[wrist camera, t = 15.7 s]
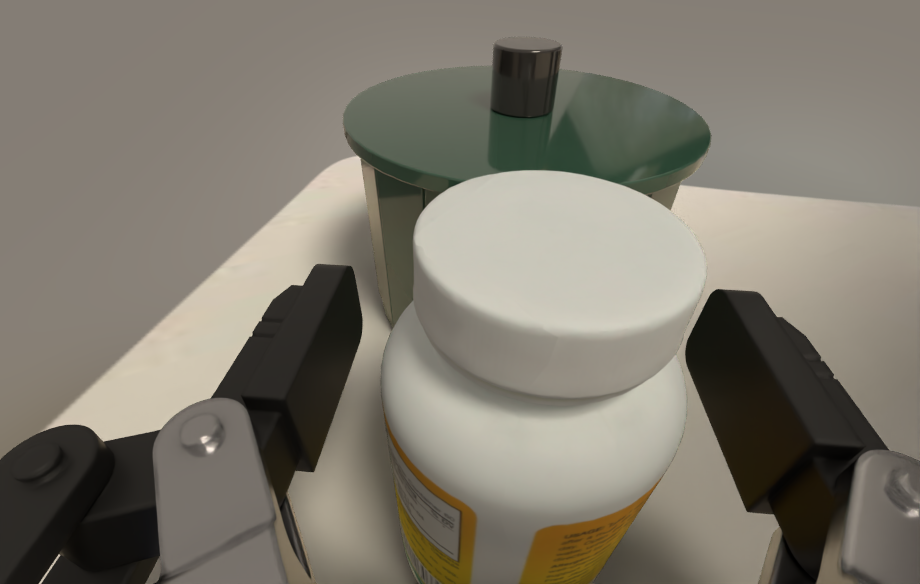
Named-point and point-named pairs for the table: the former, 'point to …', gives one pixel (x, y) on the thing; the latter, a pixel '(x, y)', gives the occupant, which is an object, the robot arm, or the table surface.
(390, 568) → the table surface
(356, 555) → the table surface
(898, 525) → the robot arm
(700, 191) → the table surface
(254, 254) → the table surface
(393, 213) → the pot
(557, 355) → the supplement bottle
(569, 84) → the pot lid
